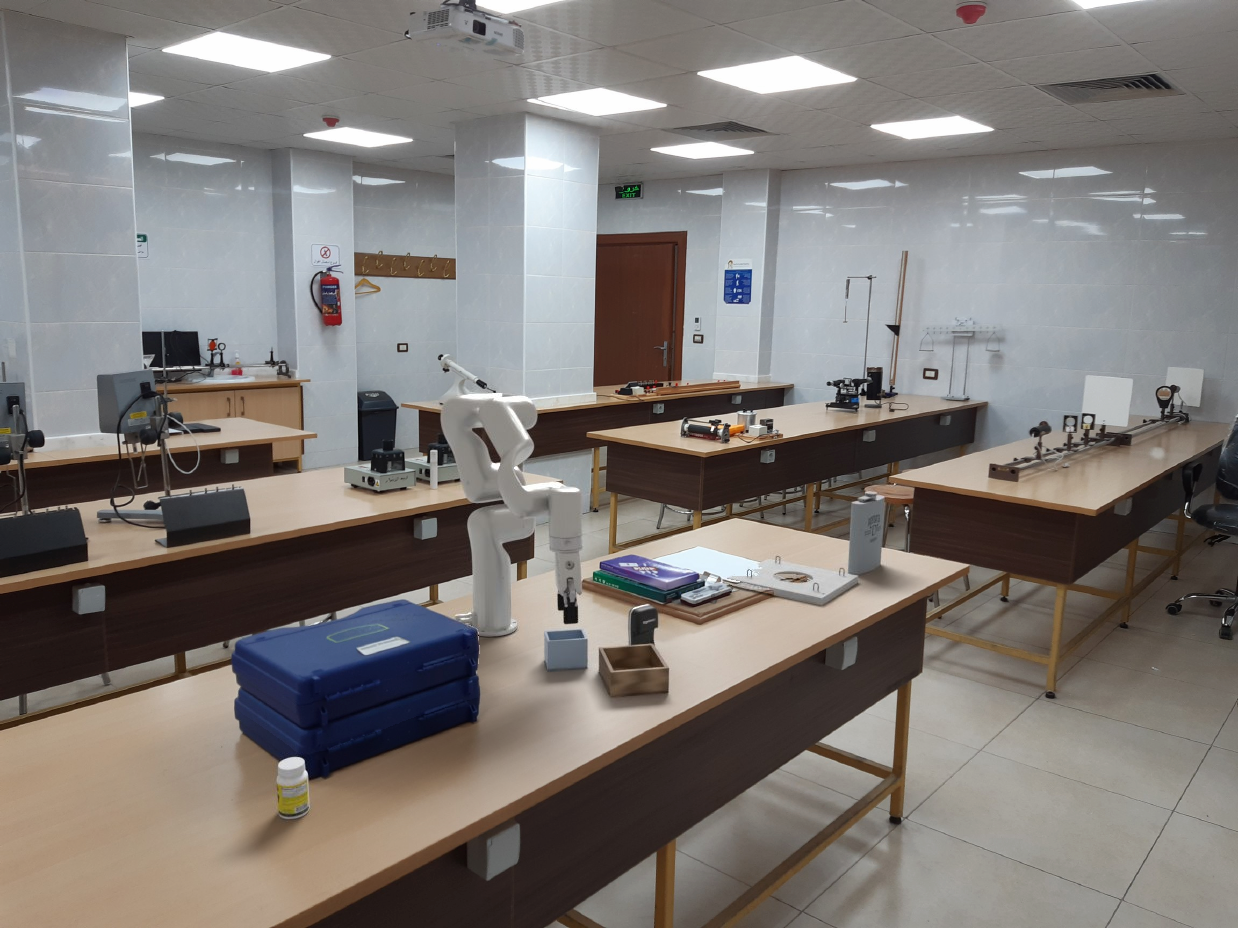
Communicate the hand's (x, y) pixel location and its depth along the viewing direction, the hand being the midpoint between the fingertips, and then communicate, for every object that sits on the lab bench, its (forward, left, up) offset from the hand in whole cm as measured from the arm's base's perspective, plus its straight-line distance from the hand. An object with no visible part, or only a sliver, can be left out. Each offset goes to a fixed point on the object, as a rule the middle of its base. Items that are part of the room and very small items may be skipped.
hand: (567, 616), depth 195 cm
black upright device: (+19, +4, -12) cm, 22 cm away
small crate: (0, +1, -12) cm, 12 cm away
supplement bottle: (-51, -50, -12) cm, 73 cm away
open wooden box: (+13, -11, -12) cm, 21 cm away
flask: (+105, +60, -12) cm, 121 cm away
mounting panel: (+75, +49, -12) cm, 90 cm away
